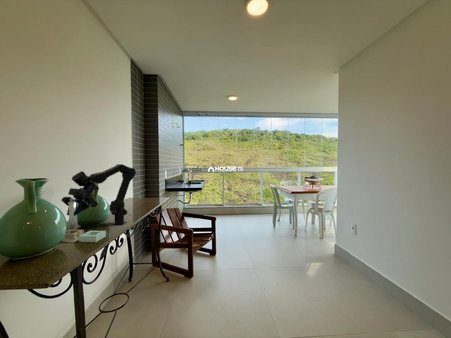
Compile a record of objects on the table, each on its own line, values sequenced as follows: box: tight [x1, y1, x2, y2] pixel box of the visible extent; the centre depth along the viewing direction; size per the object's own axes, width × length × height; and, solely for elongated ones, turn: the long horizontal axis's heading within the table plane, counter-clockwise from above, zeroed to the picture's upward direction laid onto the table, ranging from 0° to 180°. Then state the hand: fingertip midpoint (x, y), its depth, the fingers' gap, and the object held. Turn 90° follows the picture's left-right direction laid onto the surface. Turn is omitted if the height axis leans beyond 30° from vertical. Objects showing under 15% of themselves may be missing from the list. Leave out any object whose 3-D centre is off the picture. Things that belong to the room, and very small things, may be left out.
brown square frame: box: [61, 229, 85, 243], centre depth 118 cm, size 8×8×4 cm
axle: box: [68, 201, 78, 230], centre depth 118 cm, size 4×4×14 cm
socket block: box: [78, 230, 107, 243], centre depth 119 cm, size 9×9×3 cm
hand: (70, 215), depth 116 cm, fingers closed on axle, 4 cm apart
